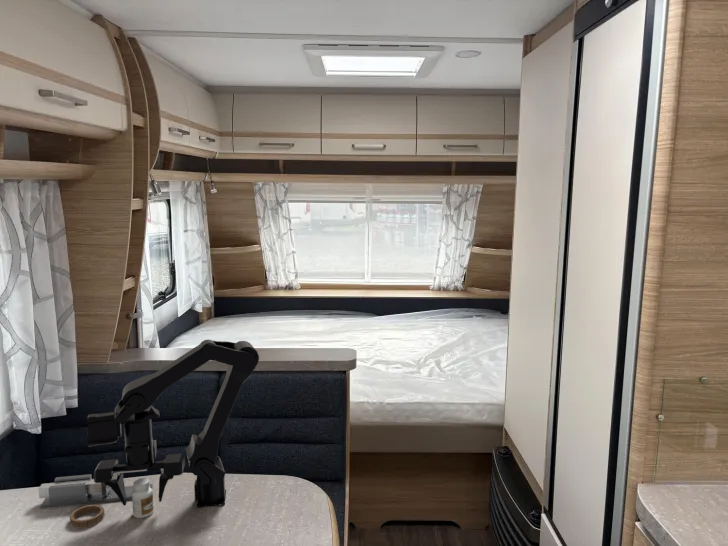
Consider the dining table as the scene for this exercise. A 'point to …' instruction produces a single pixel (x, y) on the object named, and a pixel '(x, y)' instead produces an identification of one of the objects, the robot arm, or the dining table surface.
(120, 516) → the dining table surface
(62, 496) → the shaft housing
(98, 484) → the grey long bar
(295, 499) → the dining table surface
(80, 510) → the bottle collar
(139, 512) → the pill bottle
